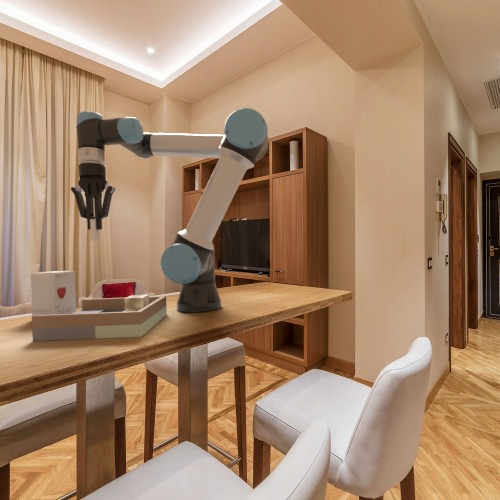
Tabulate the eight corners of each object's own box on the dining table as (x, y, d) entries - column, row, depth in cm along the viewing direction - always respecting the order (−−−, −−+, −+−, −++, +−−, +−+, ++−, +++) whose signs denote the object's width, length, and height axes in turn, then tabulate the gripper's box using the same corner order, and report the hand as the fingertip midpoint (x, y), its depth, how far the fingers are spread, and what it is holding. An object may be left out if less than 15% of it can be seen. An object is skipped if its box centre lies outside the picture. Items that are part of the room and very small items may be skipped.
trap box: (166, 314, 100) (166, 296, 99) (141, 336, 76) (140, 311, 75) (84, 318, 99) (83, 299, 99) (32, 341, 75) (31, 316, 75)
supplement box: (55, 321, 97) (53, 272, 97) (31, 320, 99) (29, 273, 98) (77, 314, 106) (75, 270, 106) (54, 314, 108) (52, 270, 107)
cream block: (149, 312, 90) (148, 294, 90) (143, 316, 85) (143, 297, 85) (132, 312, 90) (131, 295, 90) (125, 316, 85) (124, 298, 85)
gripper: (64, 162, 94) (67, 241, 94) (107, 160, 94) (111, 239, 94) (77, 168, 101) (80, 241, 102) (118, 167, 102) (121, 239, 102)
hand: (95, 240), depth 98 cm, fingers closed
